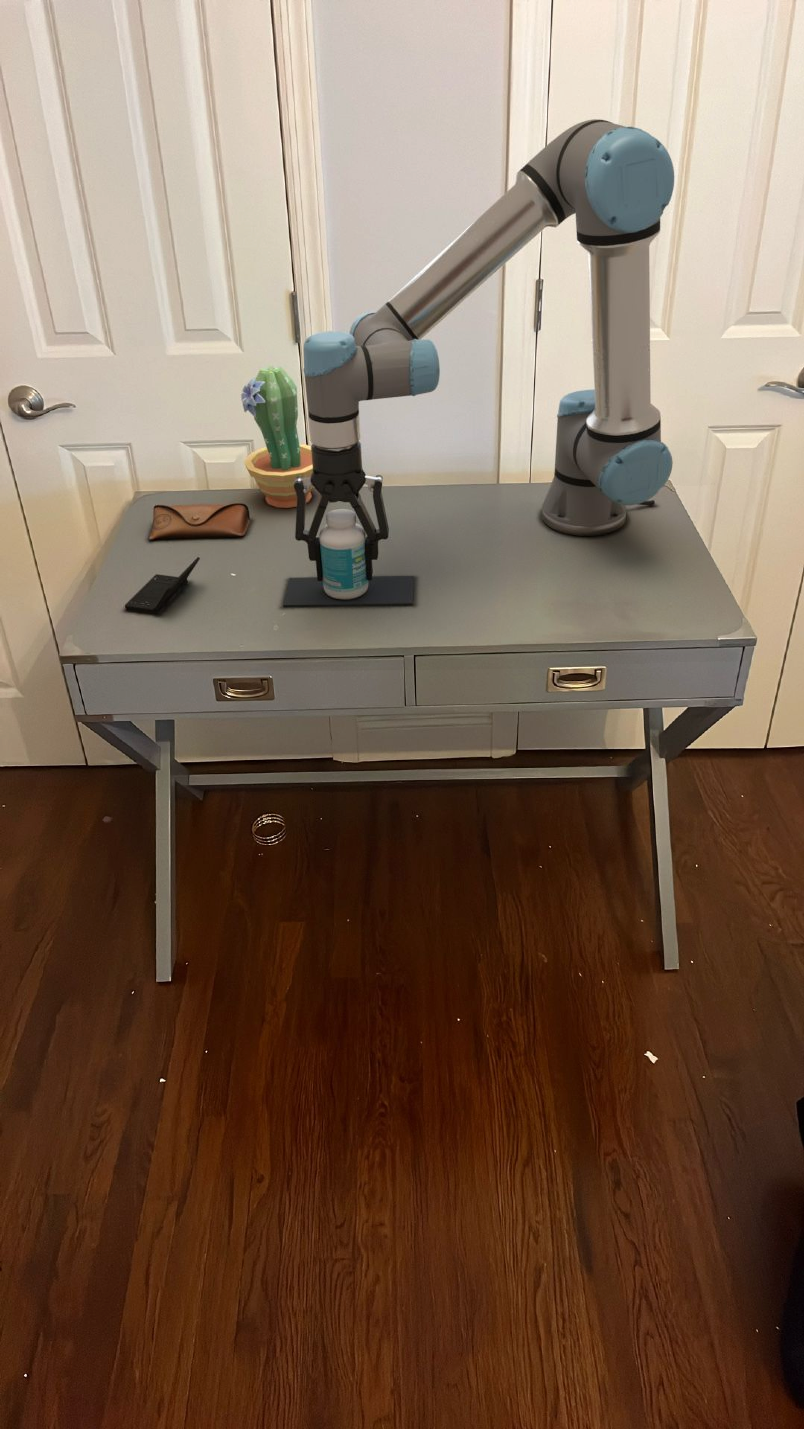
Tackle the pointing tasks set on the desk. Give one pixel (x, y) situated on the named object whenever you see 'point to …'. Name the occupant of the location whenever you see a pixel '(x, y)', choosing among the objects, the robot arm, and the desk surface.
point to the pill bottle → (343, 555)
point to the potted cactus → (276, 437)
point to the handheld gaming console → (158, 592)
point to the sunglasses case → (200, 521)
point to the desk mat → (377, 594)
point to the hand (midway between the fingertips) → (345, 576)
